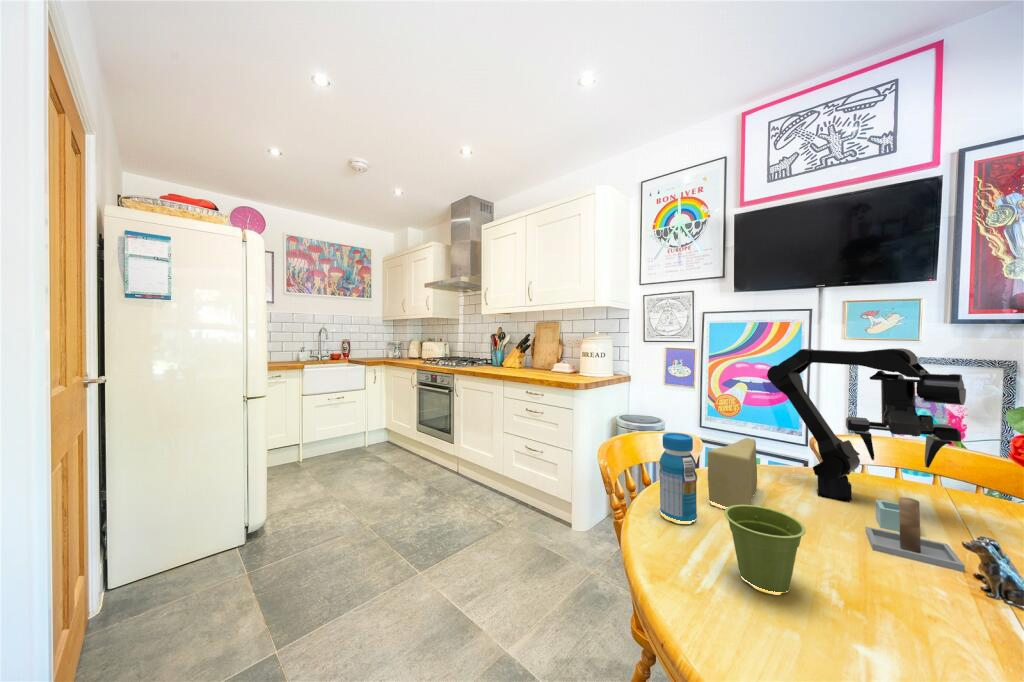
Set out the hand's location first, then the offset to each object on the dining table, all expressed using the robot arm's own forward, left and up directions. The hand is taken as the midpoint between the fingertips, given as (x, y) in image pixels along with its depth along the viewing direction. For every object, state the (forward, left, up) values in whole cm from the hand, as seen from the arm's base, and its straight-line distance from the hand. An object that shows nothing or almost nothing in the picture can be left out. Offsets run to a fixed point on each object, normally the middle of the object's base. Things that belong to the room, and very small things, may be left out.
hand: (899, 463), depth 89 cm
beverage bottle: (-43, -33, -13) cm, 56 cm away
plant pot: (-25, -50, -13) cm, 57 cm away
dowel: (-2, -21, -12) cm, 24 cm away
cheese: (-32, -11, -13) cm, 36 cm away
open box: (-2, -9, -13) cm, 16 cm away
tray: (-2, -21, -13) cm, 25 cm away
